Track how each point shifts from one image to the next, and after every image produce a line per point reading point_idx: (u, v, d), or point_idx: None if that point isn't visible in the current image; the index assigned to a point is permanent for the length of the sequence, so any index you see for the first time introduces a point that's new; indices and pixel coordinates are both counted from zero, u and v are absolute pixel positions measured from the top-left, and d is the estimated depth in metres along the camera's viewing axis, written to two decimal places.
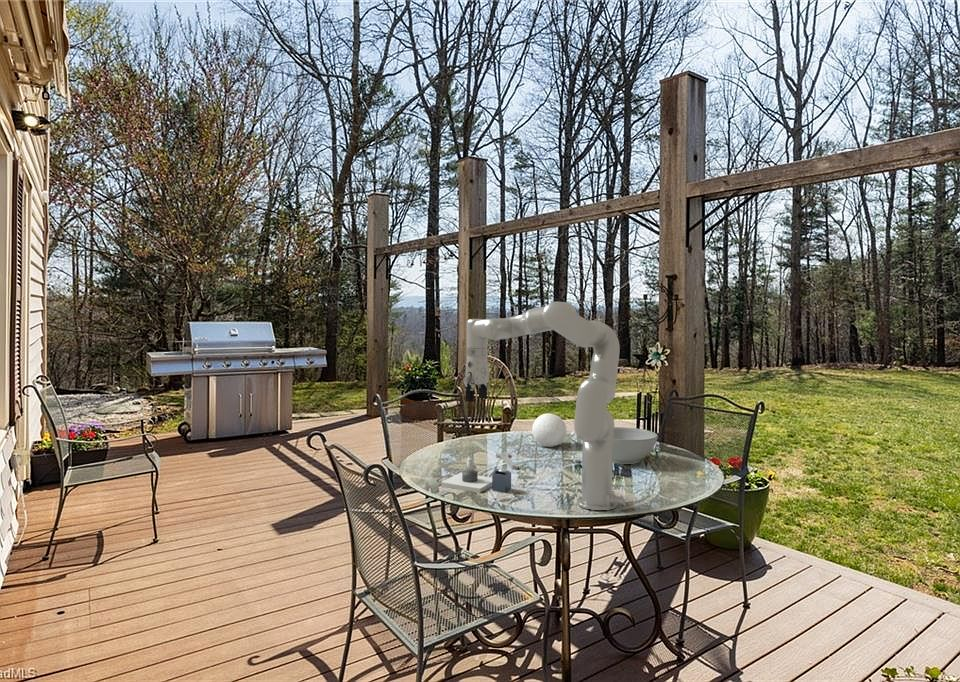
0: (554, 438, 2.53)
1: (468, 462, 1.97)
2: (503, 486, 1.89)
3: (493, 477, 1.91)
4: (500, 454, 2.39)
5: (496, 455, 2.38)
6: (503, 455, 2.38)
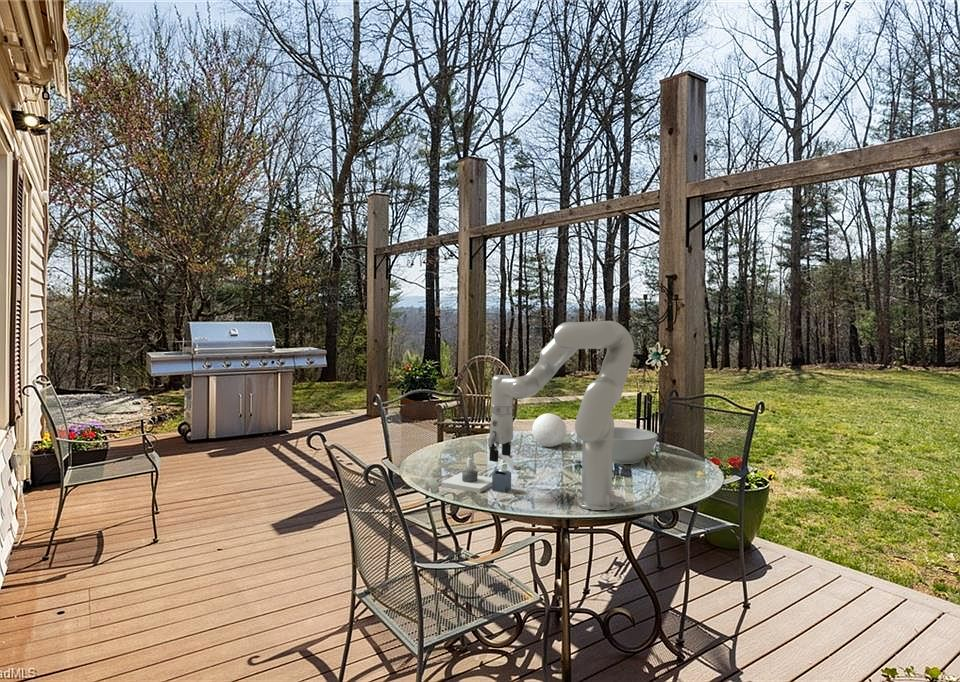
0: (554, 438, 2.53)
1: (468, 462, 1.97)
2: (503, 486, 1.89)
3: (493, 477, 1.91)
4: (501, 454, 2.39)
5: None
6: (504, 455, 2.37)
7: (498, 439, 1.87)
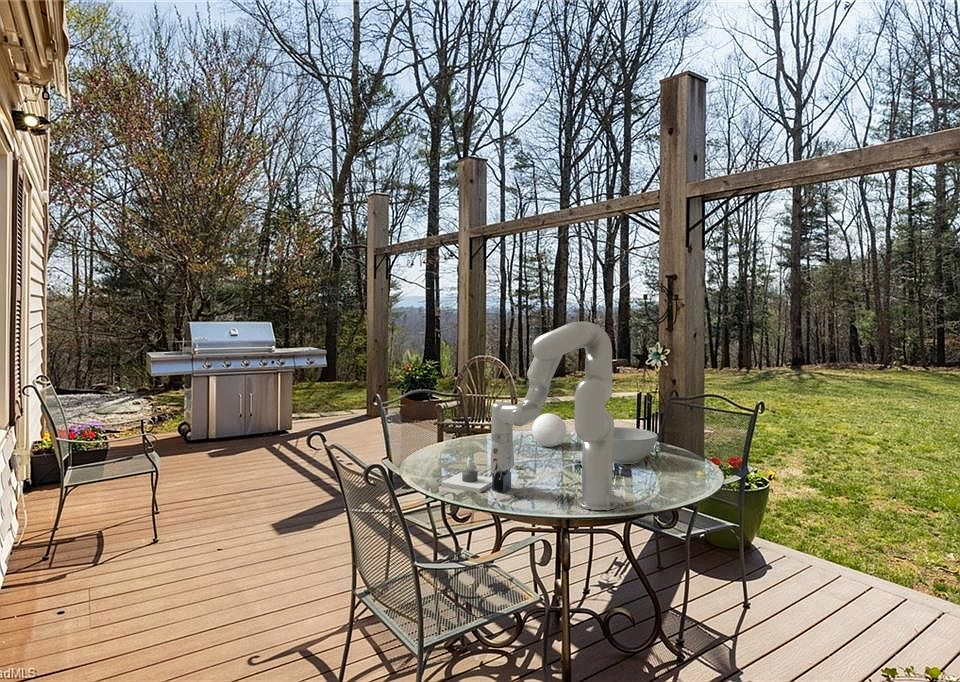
0: (554, 438, 2.53)
1: (468, 462, 1.97)
2: (503, 486, 1.89)
3: None
4: None
5: None
6: None
7: (499, 467, 1.87)
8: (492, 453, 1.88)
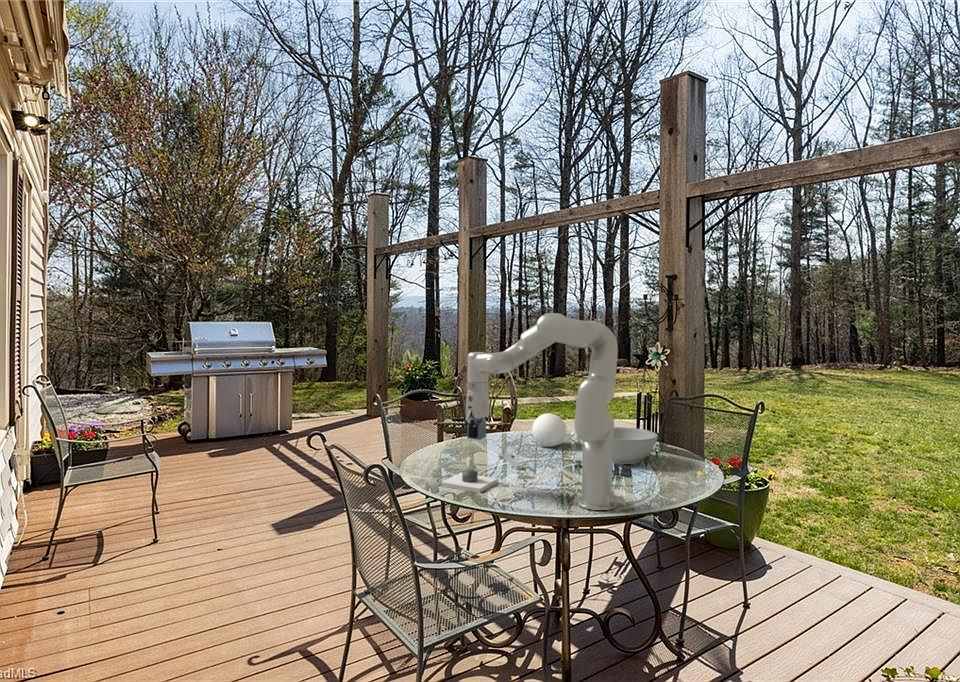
0: (554, 438, 2.53)
1: (468, 462, 1.97)
2: (478, 433, 1.94)
3: None
4: None
5: (499, 455, 2.37)
6: (506, 455, 2.37)
7: (474, 414, 1.91)
8: (467, 401, 1.93)
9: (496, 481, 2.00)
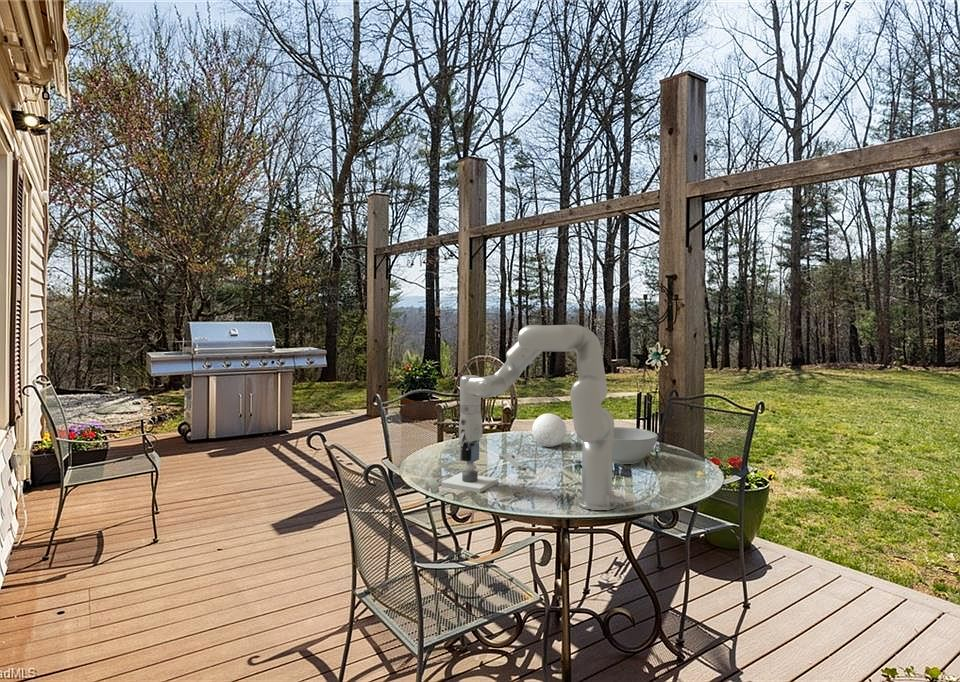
0: (554, 438, 2.53)
1: (468, 462, 1.97)
2: (471, 456, 1.95)
3: None
4: (503, 455, 2.38)
5: (499, 456, 2.37)
6: (506, 456, 2.37)
7: (467, 437, 1.93)
8: (460, 424, 1.94)
9: (496, 481, 2.00)
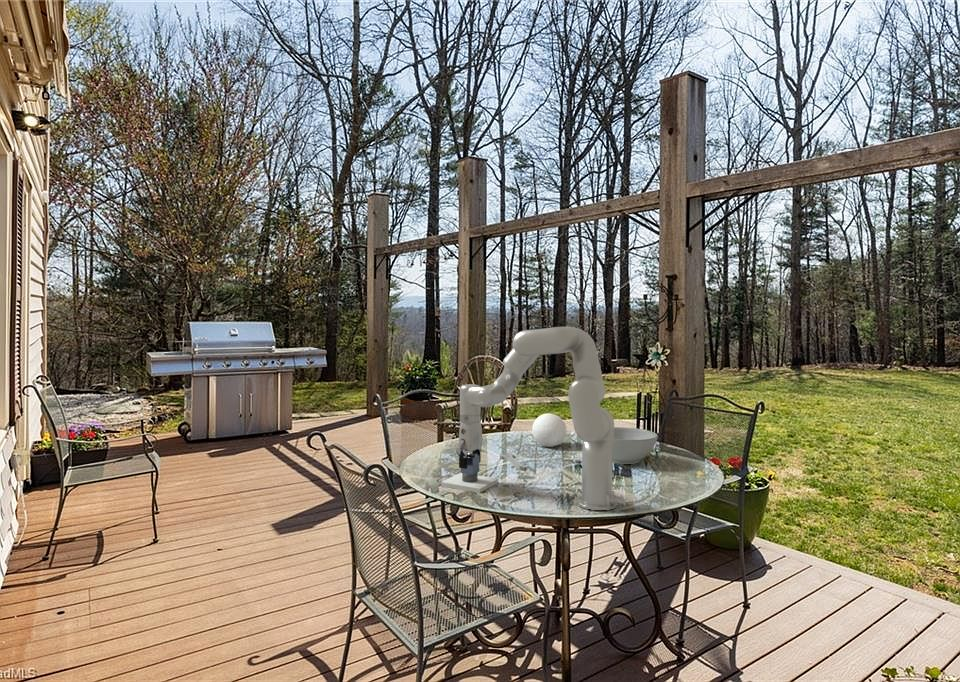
0: (554, 438, 2.53)
1: None
2: (471, 468, 1.95)
3: None
4: (504, 455, 2.38)
5: (500, 456, 2.36)
6: (507, 456, 2.36)
7: (466, 446, 1.93)
8: (460, 433, 1.94)
9: (496, 481, 2.00)
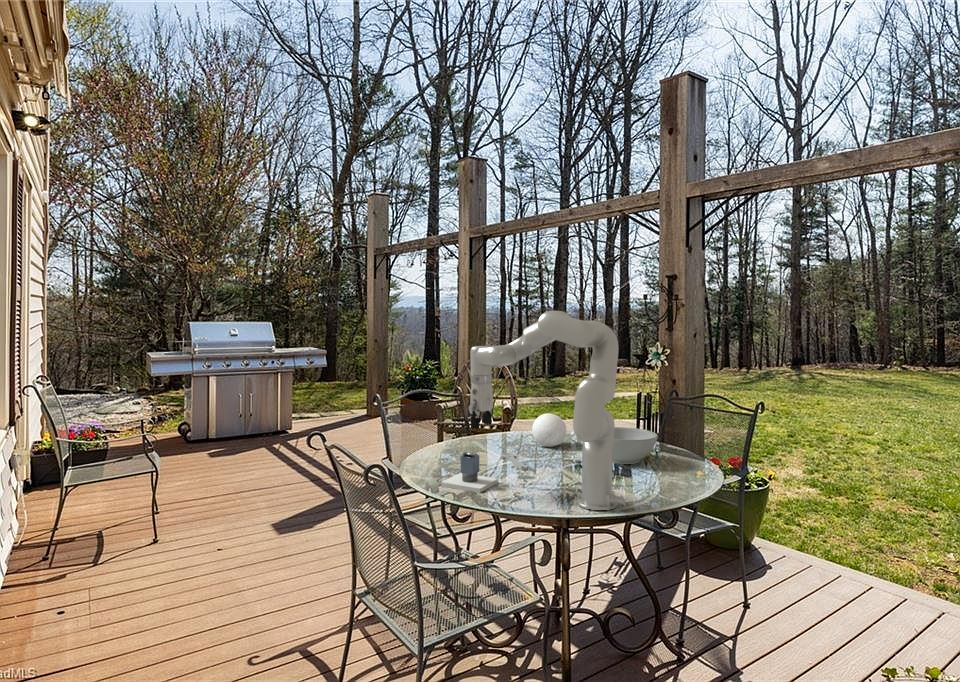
0: (554, 438, 2.53)
1: None
2: (471, 468, 1.95)
3: (461, 460, 1.97)
4: (505, 455, 2.37)
5: (501, 456, 2.36)
6: (508, 456, 2.36)
7: (478, 407, 1.93)
8: (471, 394, 1.95)
9: (496, 481, 2.00)
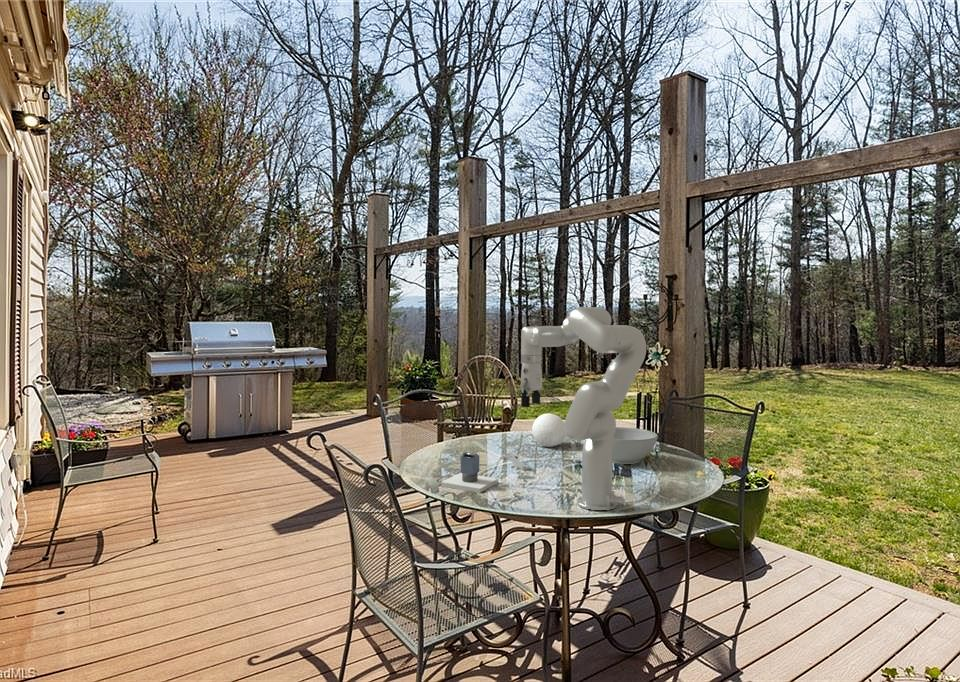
0: (554, 438, 2.53)
1: None
2: (471, 468, 1.95)
3: (461, 460, 1.97)
4: (506, 455, 2.37)
5: (502, 456, 2.36)
6: (510, 456, 2.36)
7: (529, 385, 1.98)
8: (522, 373, 2.00)
9: (496, 481, 2.00)
